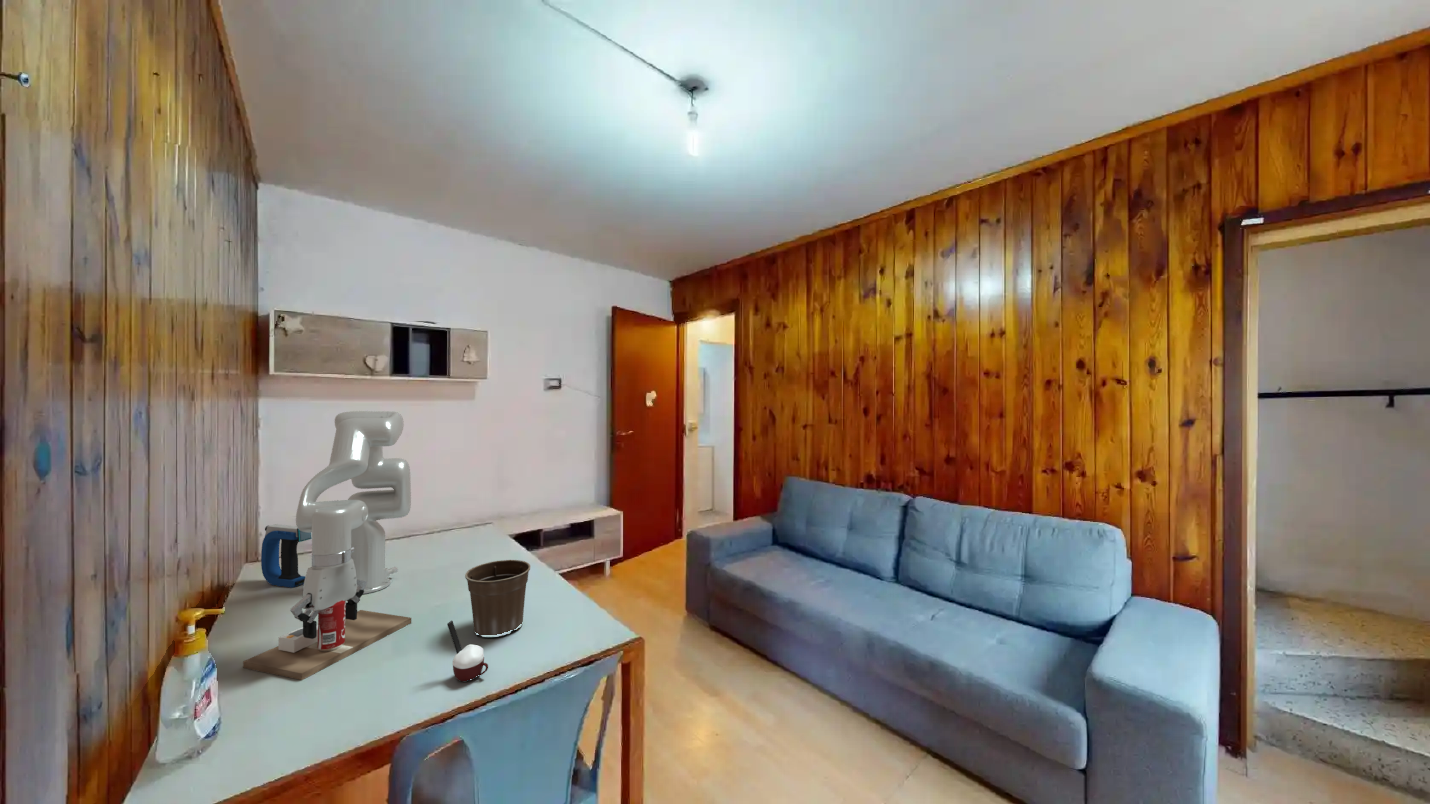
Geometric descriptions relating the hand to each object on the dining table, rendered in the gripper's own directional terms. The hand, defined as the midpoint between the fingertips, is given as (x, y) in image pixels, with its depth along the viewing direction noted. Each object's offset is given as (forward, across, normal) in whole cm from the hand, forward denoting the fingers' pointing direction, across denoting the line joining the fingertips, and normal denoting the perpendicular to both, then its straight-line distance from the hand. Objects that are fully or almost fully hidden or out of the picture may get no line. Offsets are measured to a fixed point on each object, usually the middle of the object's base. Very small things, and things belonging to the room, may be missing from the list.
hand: (331, 628), depth 116 cm
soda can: (+5, 0, 0) cm, 5 cm away
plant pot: (+7, -22, +30) cm, 38 cm away
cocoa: (+7, -1, +39) cm, 40 cm away
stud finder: (+5, +1, -8) cm, 9 cm away
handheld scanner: (+6, -29, -58) cm, 65 cm away
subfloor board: (+6, -4, -4) cm, 8 cm away
